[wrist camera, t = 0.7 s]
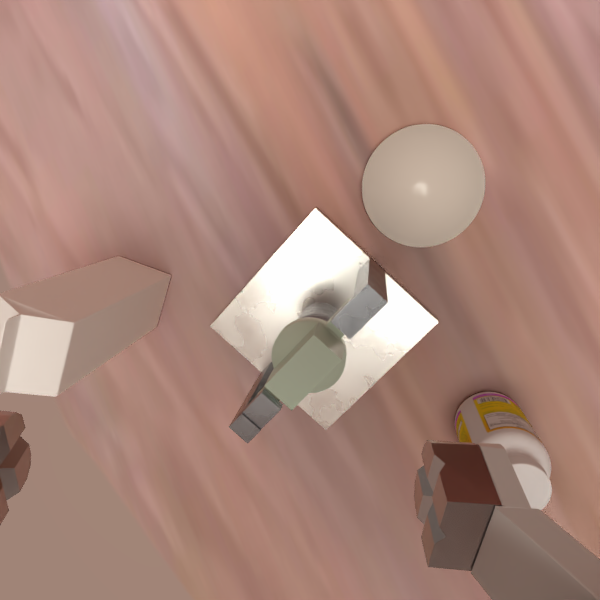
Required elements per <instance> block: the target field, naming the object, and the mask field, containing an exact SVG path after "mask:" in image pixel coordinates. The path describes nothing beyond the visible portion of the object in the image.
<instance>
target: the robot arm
mask: <svg viewBox="0 0 600 600" xmlns="http://www.w3.org/2000/svg"><path fill="white" fill-rule="evenodd" d="M24 429H25V424H24V420H23V417H22V415H21V414H19V413H17V412H9V411H0V525H1V523H2V522H3V520H4V518H5V516H6V515H7V513H8V511H9V508H8V505H7V500H8V499H10V498H11V497H13V496H14V495H16V494H17V493H19V492H20V490H21V489H22V487H23V485H24V484H25V482H26V480H27V477H28V473H29V469H30V465H31V451H30V446H29V444H28V443H27V442H26V441H25V440H24V439H23V438H22V437H20V435H21V433H22V432H23V431H24ZM422 458H423V463H424V466H422V467H421V468H420V469H419V470H417V475H416V480H415V490H414V499H415V508H416V514H417V518H418V519H419V520H420V521H421V522H422V523H423V524H424V528H423V532H422V536H421V538H422V542H423V547H424V552H425V556H426V561H427V565H428V567H434V568H445V569H456V570H467V571H472V572H471V574H472V575H473V576H474V577H475V579H476V580H477V581H478V582H479V584H480V585H481V586H482V587H483V589H484V590H485V591H486V592H487V594H488V595H489V596H490V597H491V599H492V600H600V559H599V558H597V557H596V556H595V555H594V554H593V553H591V552H590V551H589V550H588V549H587V548H585V547H584V546H583V545H582V544H581V543H579V542H578V541H577V540H576V539H574V538H573V537H572V536H571V535H570V534H568V533H567V532H566V531H565V530H564V529H562V528H561V527H560V526H559V525H558V524H556V523H555V522H554V521H553V520H552V519H550V518H549V517H548V516H547V515H546V514H544V513H543V512H542V511H541V510H539V509H533V508H531V506H530V504H529V502H528V500H527V497H526V495H525V493H524V491H523V488H522V486H521V484H520V482H519V479H518V477H517V475H516V473H515V470H514V468H513V466H512V464H511V461H510V459H509V457H508V455H507V452H506V450H505V448H504V447H503V446H502V445H501V444H490V443H467V442H450V441H434V440H427V441H426V443H425V444H424V447H423V451H422Z"/></svg>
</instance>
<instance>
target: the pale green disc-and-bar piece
mask: <svg viewBox="0 0 600 600" xmlns="http://www.w3.org/2000/svg"><path fill="white" fill-rule="evenodd" d="M350 299H351V298H349V299H348V300H347V301H346V302H345V303H344V305H345V304H346V303H347V302H348V301H349V300H350ZM344 305H343V306H344ZM343 306H342V307H343ZM342 307H341V308H342ZM341 308H340V309H341ZM340 309H339V310H340ZM339 310H338V311H339ZM338 311H337V312H338ZM337 312H336V313H337ZM336 313H335V314H336ZM335 314H334V315H335ZM334 315H333V316H332V317H331V318H330V319H329V320H328V321H325V320H322V319H319V318H314V317H305V318H300V319H297V320H294V321H292V322H290V323H289V324H288V325H286V326H285V327H284V328H283V329H282V331H281V332H280V334H279V335H278V337H277V339H276V340H275V342H274V345H273V348H272V364H273V367H274V369H273V370H272V372H271V374H270V376H269V378H268V380H267V382H266V384H265V385H264V387H263V388H262V389H261V390H260V391H259V393H260V392H261V391H262V390H263V389H264V388H265V389H266V390H267V391H268V392H269V393H270V394H271V395H273V396H274V397H275V398H276V399H277V400H278V401H280V400H281V401H282V402H283V403H284V404H285V405H286V406H287V407H288V408H289V409H291V410H293V409H294V408H295V407H296V406H297V405H298V404H299V403H300V402H301V401H302V400H303V399H304V398H305V397H306V396H307V395H308V394H309V393H316V392H321V391H324V390H326V389H328V388H330V387H331V386H333V385H334V384H335V383H336V382H337V381H338V380H339V378H340V377H341V375H342V373H343V371H344V368H345V362H346V356H347V350H346V345H345V341H344V339H343V336H344V335H345V334H343V333H342V332H341V331H340V330H339V329H338V328H337V327H336V326H335V325H334V324H332V323H331V319H332V318H333V317H334ZM259 393H258V394H259Z"/></svg>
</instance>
